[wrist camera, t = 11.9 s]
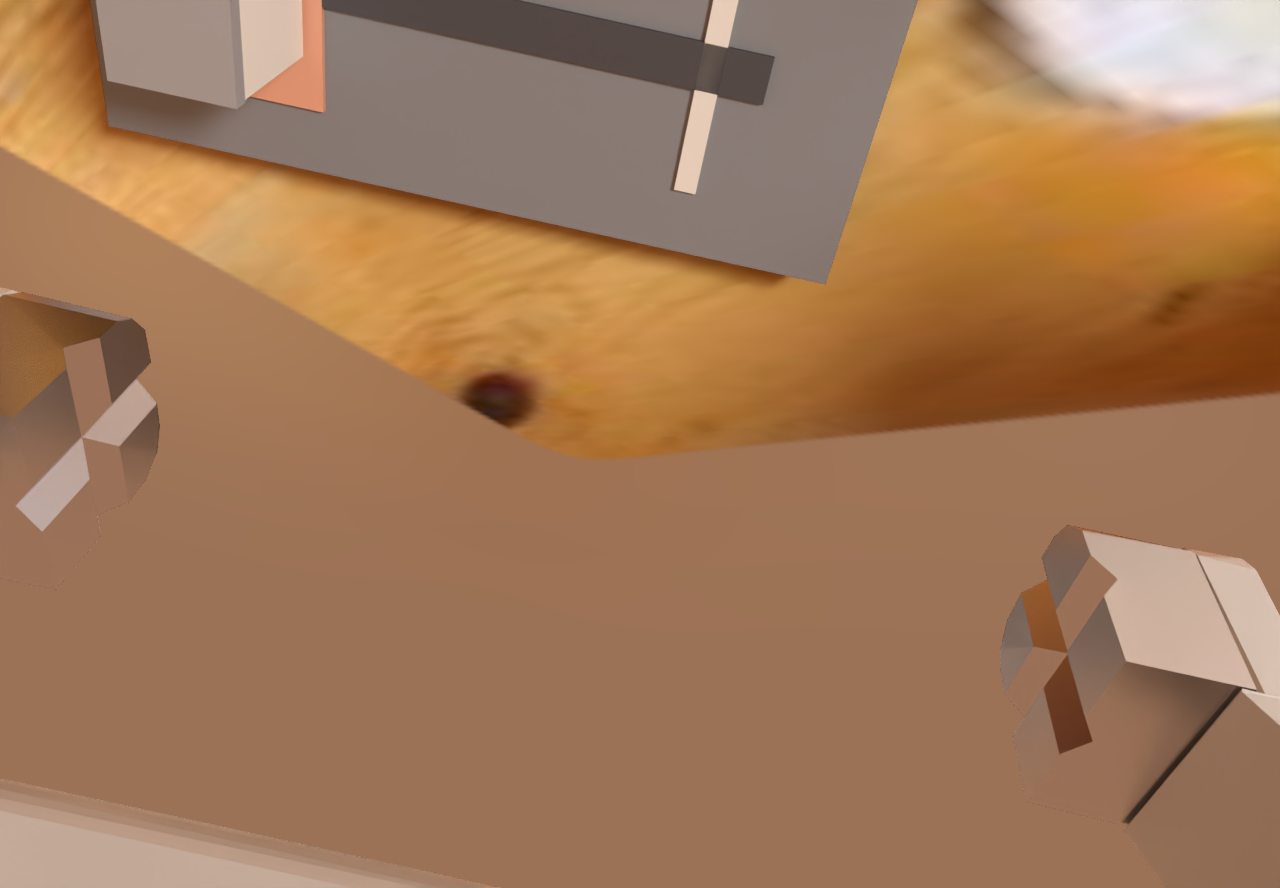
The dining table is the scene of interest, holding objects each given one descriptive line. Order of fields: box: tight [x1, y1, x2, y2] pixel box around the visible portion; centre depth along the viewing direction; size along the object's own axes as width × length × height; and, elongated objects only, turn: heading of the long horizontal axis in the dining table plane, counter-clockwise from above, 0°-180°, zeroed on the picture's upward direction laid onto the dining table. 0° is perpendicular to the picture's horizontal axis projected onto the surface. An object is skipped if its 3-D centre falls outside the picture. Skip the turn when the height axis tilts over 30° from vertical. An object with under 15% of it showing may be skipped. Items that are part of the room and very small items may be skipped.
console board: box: [90, 0, 918, 284], centre depth 36 cm, size 28×14×3 cm, turn 80°
